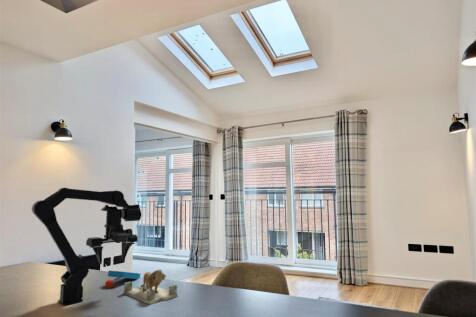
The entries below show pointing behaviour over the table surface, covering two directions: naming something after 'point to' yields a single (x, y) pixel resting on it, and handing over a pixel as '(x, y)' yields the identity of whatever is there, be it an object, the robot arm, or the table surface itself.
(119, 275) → the lever
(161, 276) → the lion figurine
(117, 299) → the table surface
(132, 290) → the cradle jig
